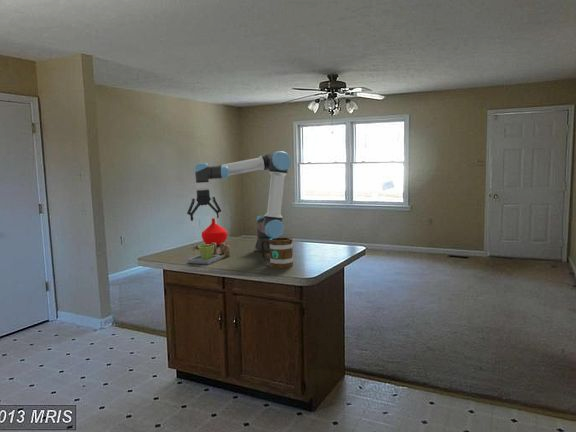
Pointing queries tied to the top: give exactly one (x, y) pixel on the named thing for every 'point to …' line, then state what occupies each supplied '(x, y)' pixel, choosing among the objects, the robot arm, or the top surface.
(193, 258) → the tray
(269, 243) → the mug
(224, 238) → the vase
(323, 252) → the top surface
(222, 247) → the posts
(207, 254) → the plant pot
